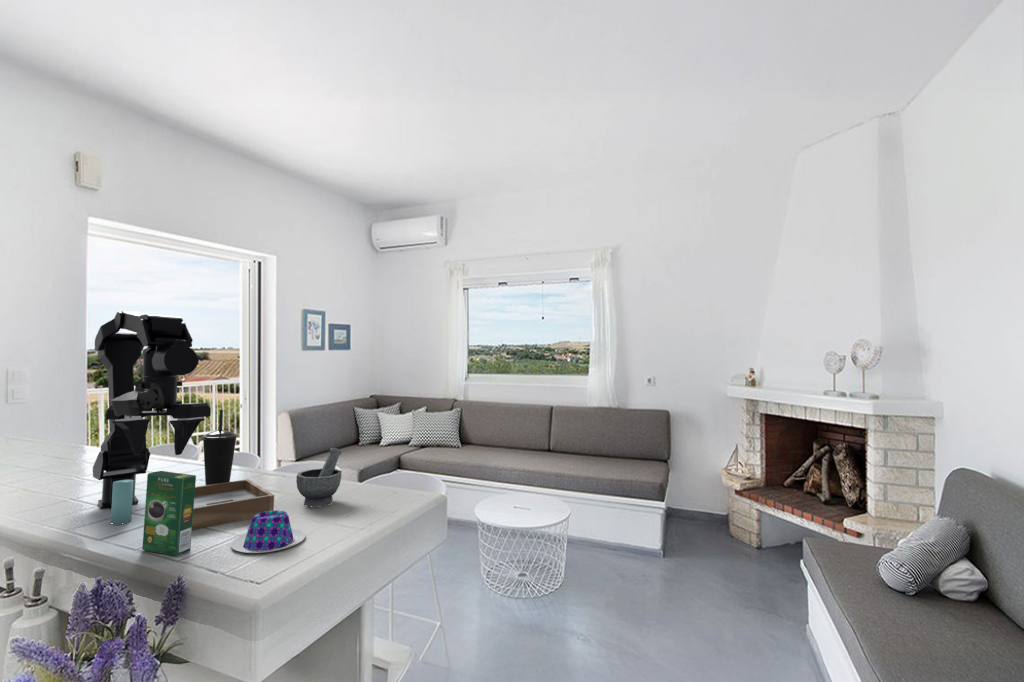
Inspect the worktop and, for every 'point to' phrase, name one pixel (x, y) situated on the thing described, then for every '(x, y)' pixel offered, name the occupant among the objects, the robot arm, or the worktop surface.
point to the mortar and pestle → (320, 482)
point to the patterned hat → (268, 533)
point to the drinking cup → (218, 454)
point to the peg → (122, 501)
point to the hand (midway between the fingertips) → (157, 454)
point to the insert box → (229, 503)
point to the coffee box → (169, 512)
